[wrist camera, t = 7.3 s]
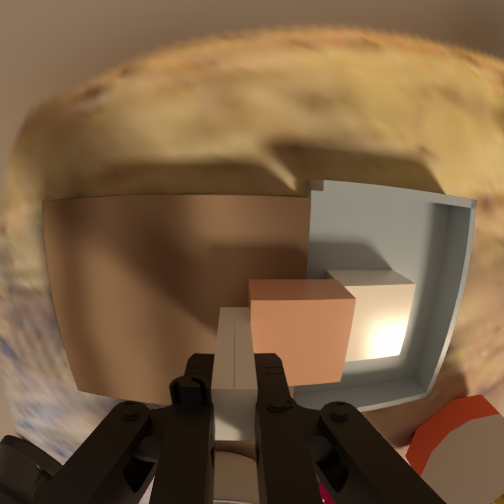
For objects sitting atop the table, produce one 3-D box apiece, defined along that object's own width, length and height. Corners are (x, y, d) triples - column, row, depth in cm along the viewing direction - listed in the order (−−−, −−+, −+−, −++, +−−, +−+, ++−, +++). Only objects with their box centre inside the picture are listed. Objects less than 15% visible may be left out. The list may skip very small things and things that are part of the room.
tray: (290, 390, 21) (297, 420, 18) (307, 180, 18) (323, 179, 14) (411, 374, 22) (429, 396, 18) (447, 196, 18) (476, 200, 15)
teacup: (155, 468, 23) (143, 524, 16) (197, 421, 22) (188, 494, 14) (261, 499, 26) (266, 549, 18) (318, 459, 24) (335, 517, 16)
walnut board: (92, 370, 20) (78, 390, 17) (66, 198, 17) (42, 201, 14) (285, 381, 21) (291, 406, 18) (299, 195, 18) (311, 198, 15)
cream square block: (318, 339, 19) (330, 363, 16) (326, 270, 18) (342, 286, 15) (381, 334, 19) (399, 354, 16) (393, 269, 18) (415, 283, 15)
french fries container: (473, 399, 24) (546, 483, 7) (406, 453, 25) (460, 553, 8) (470, 383, 23) (554, 474, 6) (397, 441, 24) (458, 554, 7)
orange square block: (246, 356, 17) (248, 387, 14) (248, 279, 16) (251, 300, 13) (326, 353, 17) (340, 381, 14) (336, 279, 16) (356, 298, 13)
